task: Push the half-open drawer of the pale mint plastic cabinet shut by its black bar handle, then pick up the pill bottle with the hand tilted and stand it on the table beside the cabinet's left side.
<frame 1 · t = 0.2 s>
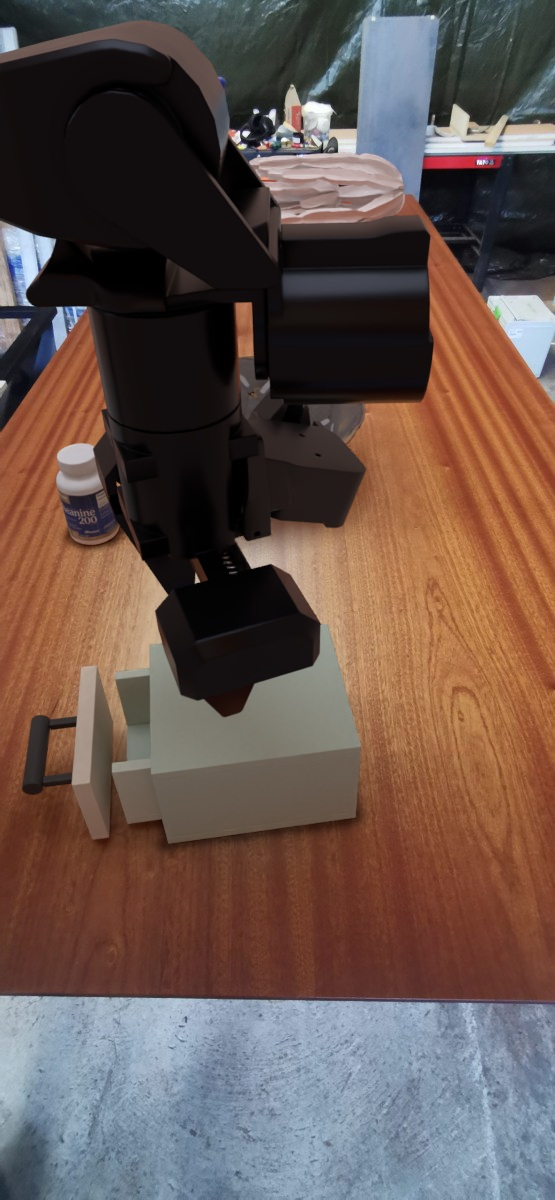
hand: (206, 653, 42), 18 cm above the table, tool pointing down, fingers open, 9 cm apart
teapot: (191, 336, 119), on the table
bowl: (256, 481, 87), on the table
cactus: (321, 235, 156), on the table
cabinet: (253, 764, 57), on the table
pill bottle: (95, 532, 80), on the table
drawer: (144, 743, 54), point 4 cm above the table, slide at 4.0 cm
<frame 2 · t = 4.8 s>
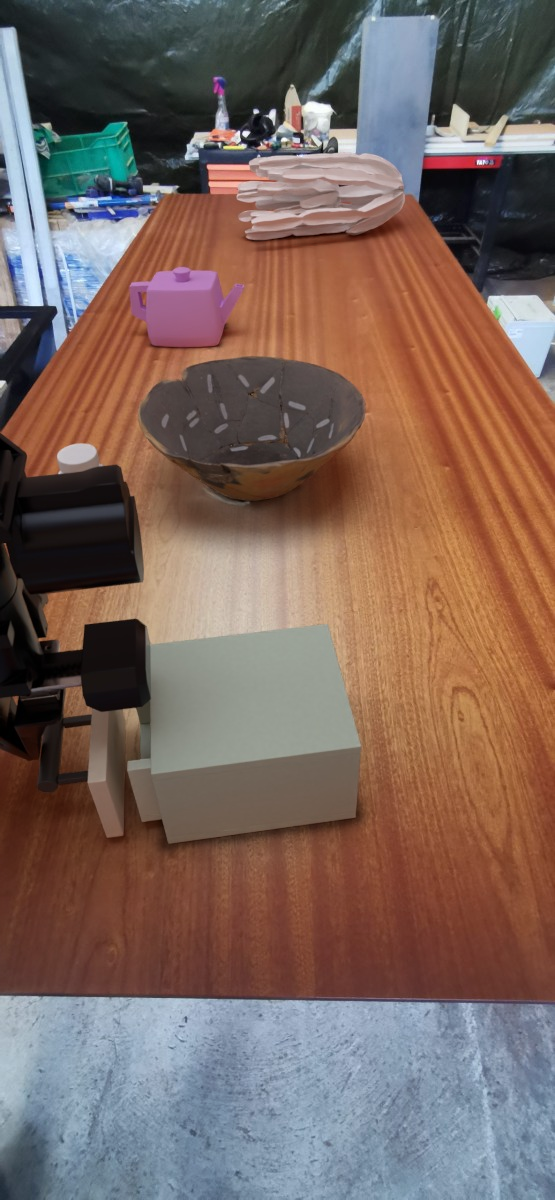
hand: (35, 754, 53), 5 cm above the table, tool pointing down, fingers closed
drawer: (158, 741, 54), point 4 cm above the table, slide at 3.0 cm, touching gripper
everything else where it was.
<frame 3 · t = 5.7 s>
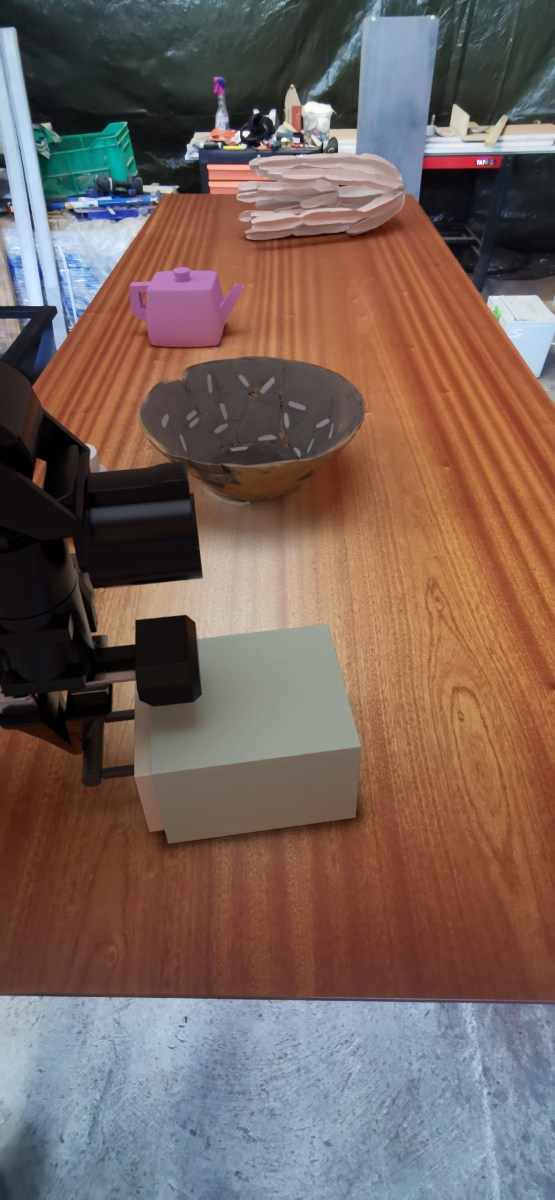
hand: (78, 749, 53), 5 cm above the table, tool pointing down, fingers closed
drawer: (199, 736, 54), point 4 cm above the table, slide at 0.0 cm, touching cabinet, gripper
everything else where it was.
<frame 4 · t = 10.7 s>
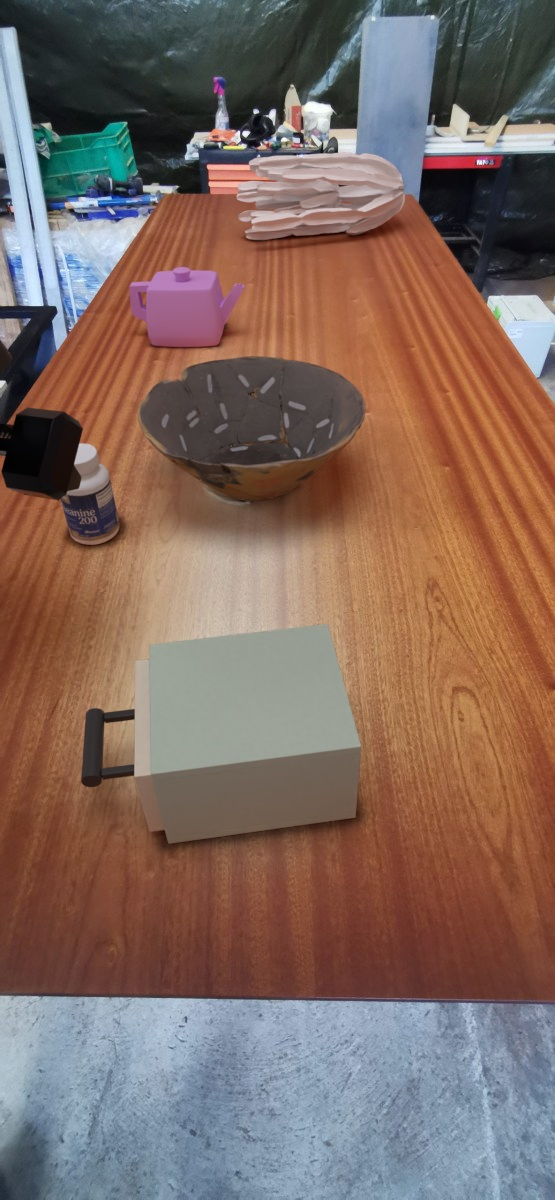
hand: (35, 476, 65), 13 cm above the table, tool tilted 40°, fingers open, 9 cm apart
drawer: (199, 736, 54), point 4 cm above the table, slide at 0.0 cm
everything else where it was.
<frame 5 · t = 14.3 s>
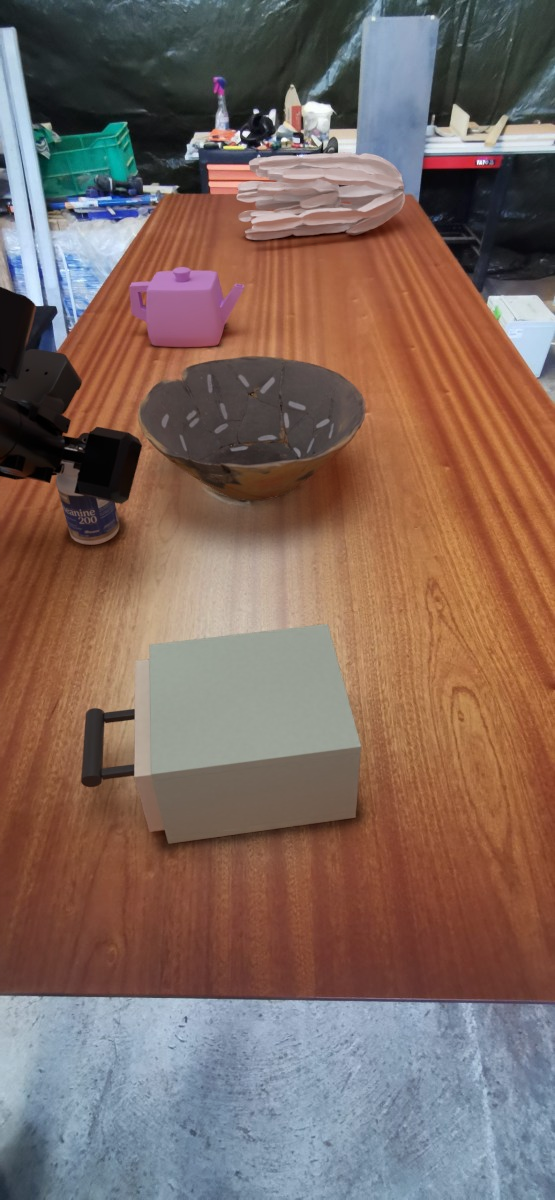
hand: (90, 473, 77), 7 cm above the table, tool tilted 45°, fingers closed on pill bottle, 5 cm apart
pill bottle: (95, 532, 80), on the table, touching gripper
everything else where it was.
when the fingers open (7 cm above the table, at t = 20.6 s): pill bottle stays where it is, on the table.
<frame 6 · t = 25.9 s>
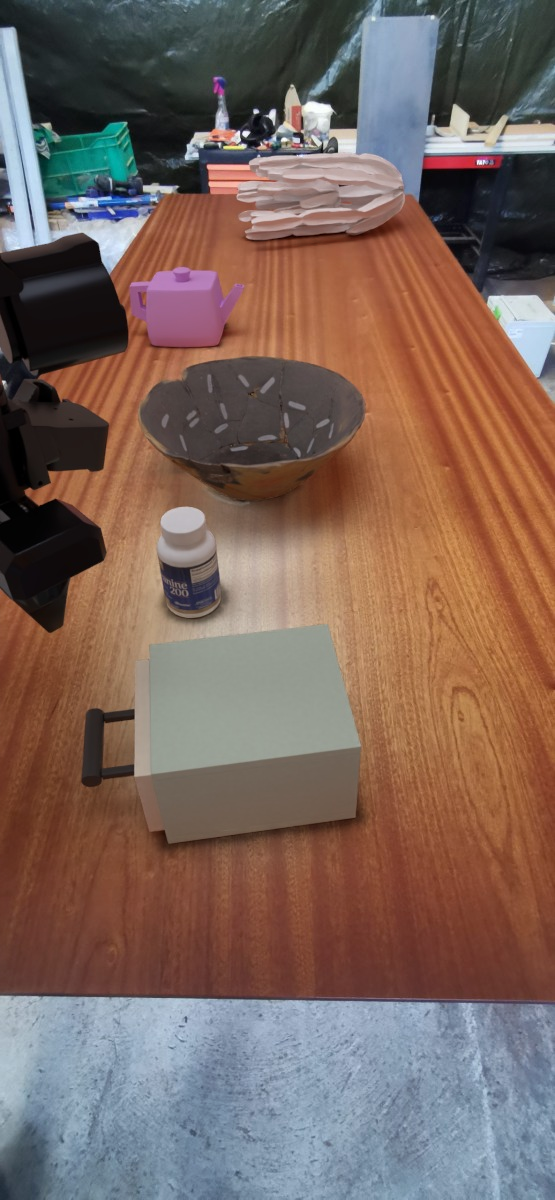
hand: (23, 596, 53), 13 cm above the table, tool pointing down, fingers open, 9 cm apart
pill bottle: (194, 602, 71), on the table
everything else where it was.
at the end: drawer slide at 0.0 cm; pill bottle 0.1 cm from the target spot on the table beside the cabinet, on the table; pill bottle tilted 0° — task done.
